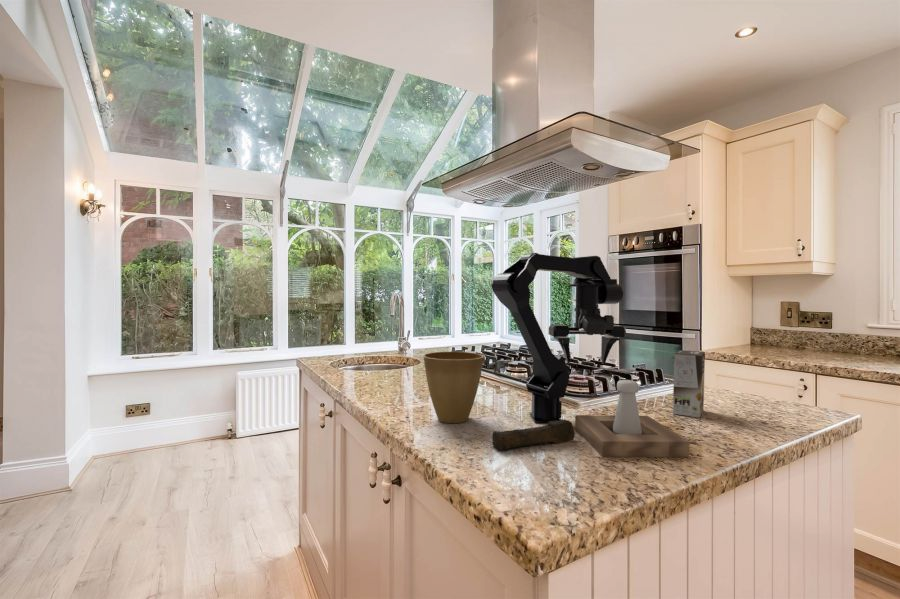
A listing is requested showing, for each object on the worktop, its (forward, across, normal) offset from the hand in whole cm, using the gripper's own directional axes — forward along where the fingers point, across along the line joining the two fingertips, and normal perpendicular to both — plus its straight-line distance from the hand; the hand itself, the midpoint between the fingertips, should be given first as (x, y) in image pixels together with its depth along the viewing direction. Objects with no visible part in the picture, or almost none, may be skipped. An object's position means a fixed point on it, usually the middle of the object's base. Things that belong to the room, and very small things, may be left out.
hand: (585, 363), depth 111 cm
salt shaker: (+13, +2, -21) cm, 25 cm away
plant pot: (+13, -35, -6) cm, 38 cm away
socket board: (+13, +2, -21) cm, 25 cm away
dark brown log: (+14, -18, -22) cm, 32 cm away
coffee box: (+13, +28, +1) cm, 31 cm away
